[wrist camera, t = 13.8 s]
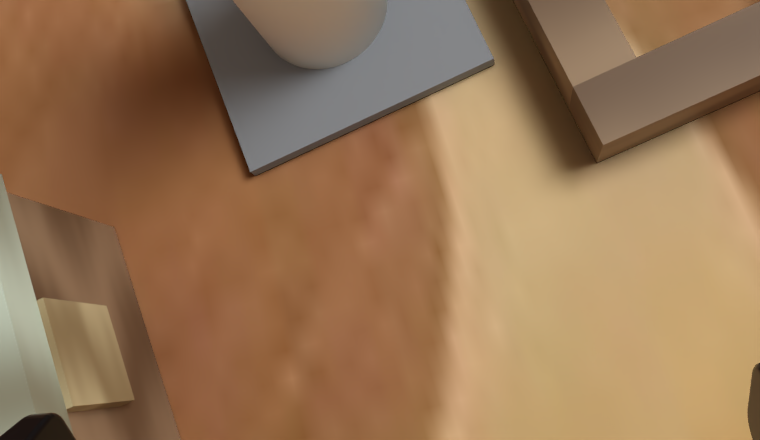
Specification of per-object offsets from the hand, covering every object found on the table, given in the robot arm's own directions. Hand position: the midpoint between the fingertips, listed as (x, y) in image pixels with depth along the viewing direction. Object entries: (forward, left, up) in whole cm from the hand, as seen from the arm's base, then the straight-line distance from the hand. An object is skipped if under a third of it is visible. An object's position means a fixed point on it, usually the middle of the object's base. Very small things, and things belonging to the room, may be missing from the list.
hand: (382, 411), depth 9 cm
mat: (+14, -1, -14) cm, 19 cm away
